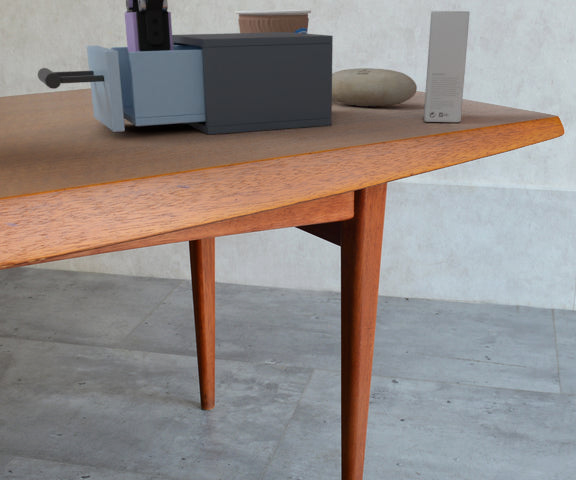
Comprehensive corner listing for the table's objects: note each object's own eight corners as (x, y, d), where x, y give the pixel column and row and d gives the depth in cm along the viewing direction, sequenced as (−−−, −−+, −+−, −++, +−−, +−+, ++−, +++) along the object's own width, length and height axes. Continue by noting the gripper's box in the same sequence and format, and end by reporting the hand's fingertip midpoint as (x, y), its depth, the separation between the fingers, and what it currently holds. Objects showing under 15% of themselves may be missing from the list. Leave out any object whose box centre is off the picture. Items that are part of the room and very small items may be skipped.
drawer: (54, 136, 72) (44, 53, 69) (41, 120, 82) (32, 47, 79) (238, 123, 79) (236, 47, 76) (206, 110, 89) (203, 42, 86)
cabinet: (208, 134, 78) (203, 39, 74) (176, 119, 88) (171, 34, 85) (331, 125, 83) (332, 35, 80) (287, 111, 94) (286, 32, 90)
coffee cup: (288, 107, 97) (287, 10, 93) (224, 102, 102) (220, 10, 98) (323, 98, 106) (324, 9, 101) (262, 95, 111) (261, 9, 106)
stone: (415, 89, 92) (325, 60, 93) (401, 132, 96) (315, 103, 98) (424, 70, 96) (338, 42, 97) (410, 112, 100) (328, 84, 102)
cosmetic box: (461, 123, 84) (470, 10, 79) (423, 122, 84) (430, 11, 80) (459, 115, 89) (467, 10, 85) (423, 115, 90) (430, 10, 86)
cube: (135, 53, 76) (132, 12, 75) (127, 51, 80) (124, 12, 78) (173, 52, 78) (170, 12, 76) (163, 50, 81) (161, 11, 80)
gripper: (82, -134, 78) (100, 48, 84) (112, -165, 63) (131, 57, 70) (151, -130, 80) (164, 46, 87) (196, -159, 66) (207, 54, 73)
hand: (149, 49), depth 79 cm, fingers closed on cube, 4 cm apart
